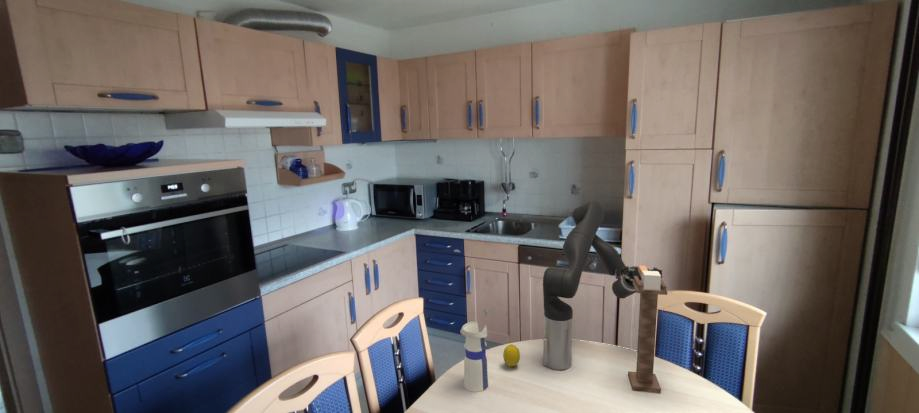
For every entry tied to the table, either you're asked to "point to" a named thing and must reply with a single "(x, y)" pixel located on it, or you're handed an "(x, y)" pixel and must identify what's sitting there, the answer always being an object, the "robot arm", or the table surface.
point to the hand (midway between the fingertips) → (641, 270)
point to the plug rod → (649, 278)
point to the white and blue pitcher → (475, 357)
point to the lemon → (511, 355)
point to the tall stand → (646, 340)
